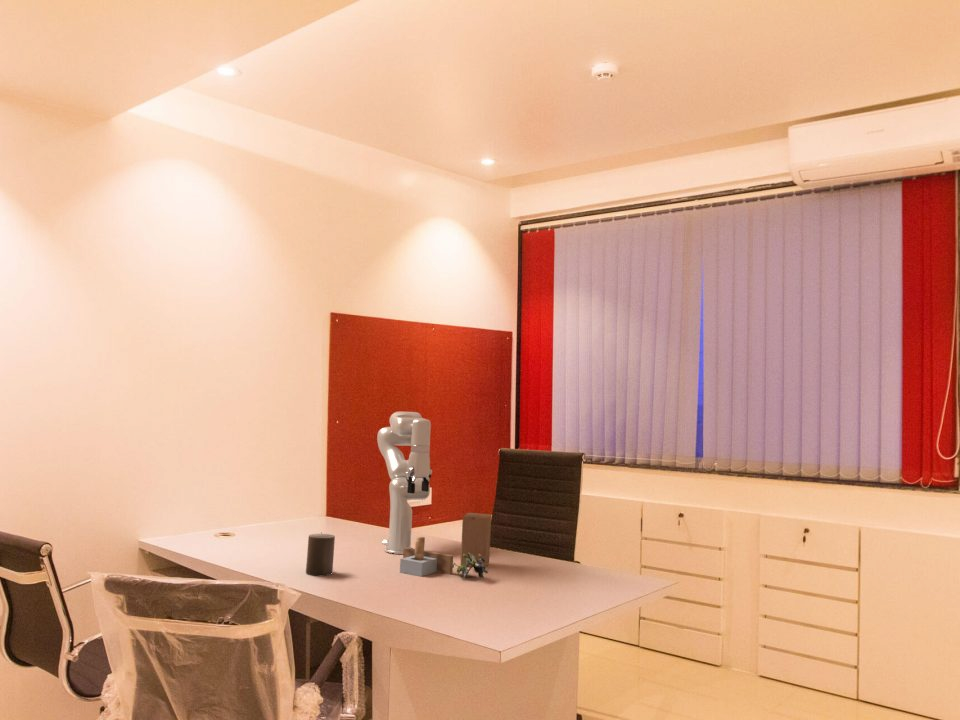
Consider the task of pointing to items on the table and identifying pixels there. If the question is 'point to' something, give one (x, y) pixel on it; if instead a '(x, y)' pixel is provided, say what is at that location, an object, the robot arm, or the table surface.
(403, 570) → the socket block
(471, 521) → the wooden block
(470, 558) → the passion flower
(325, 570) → the pillar candle
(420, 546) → the oak dowel
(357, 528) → the table surface
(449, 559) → the walnut wall
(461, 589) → the table surface
